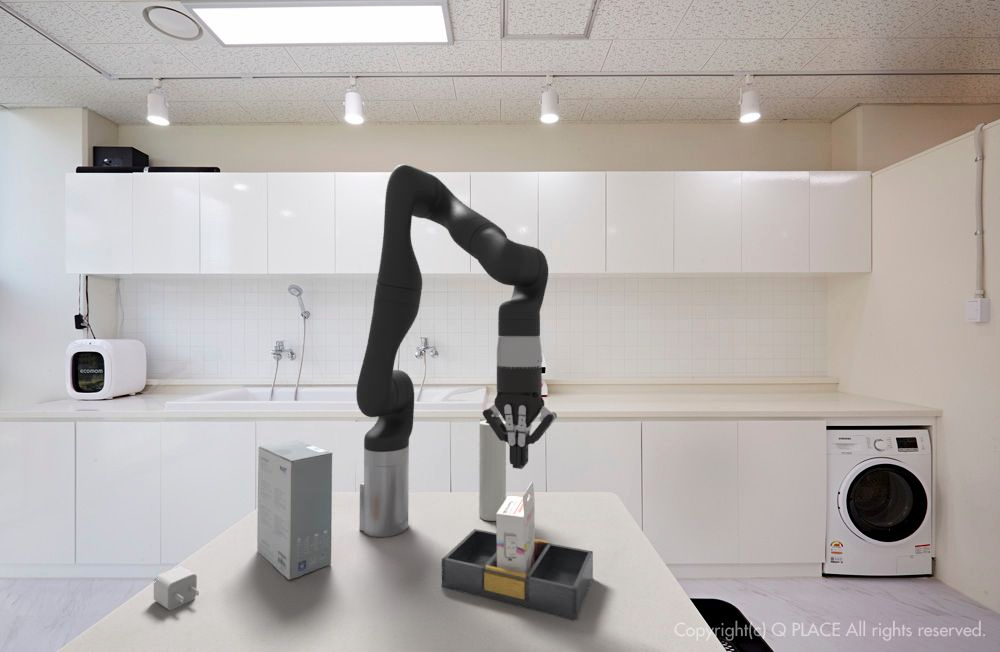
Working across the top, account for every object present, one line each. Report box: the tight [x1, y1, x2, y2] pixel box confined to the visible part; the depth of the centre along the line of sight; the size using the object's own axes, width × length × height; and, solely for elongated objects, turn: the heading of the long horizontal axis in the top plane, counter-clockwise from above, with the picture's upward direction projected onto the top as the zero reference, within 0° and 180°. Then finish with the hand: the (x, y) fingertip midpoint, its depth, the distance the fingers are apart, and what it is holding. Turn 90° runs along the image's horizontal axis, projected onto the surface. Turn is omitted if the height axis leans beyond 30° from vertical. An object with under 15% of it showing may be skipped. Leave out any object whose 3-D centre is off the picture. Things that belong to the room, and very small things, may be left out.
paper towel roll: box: [478, 418, 507, 522], centre depth 102 cm, size 7×6×21 cm
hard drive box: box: [256, 439, 333, 581], centre depth 83 cm, size 16×8×20 cm, turn 47°
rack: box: [441, 528, 594, 621], centre depth 75 cm, size 22×13×5 cm, turn 67°
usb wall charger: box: [153, 566, 200, 611], centre depth 69 cm, size 4×7×4 cm, turn 59°
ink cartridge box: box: [495, 481, 536, 574], centre depth 75 cm, size 9×5×15 cm, turn 166°
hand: (519, 467), depth 75 cm, fingers closed
